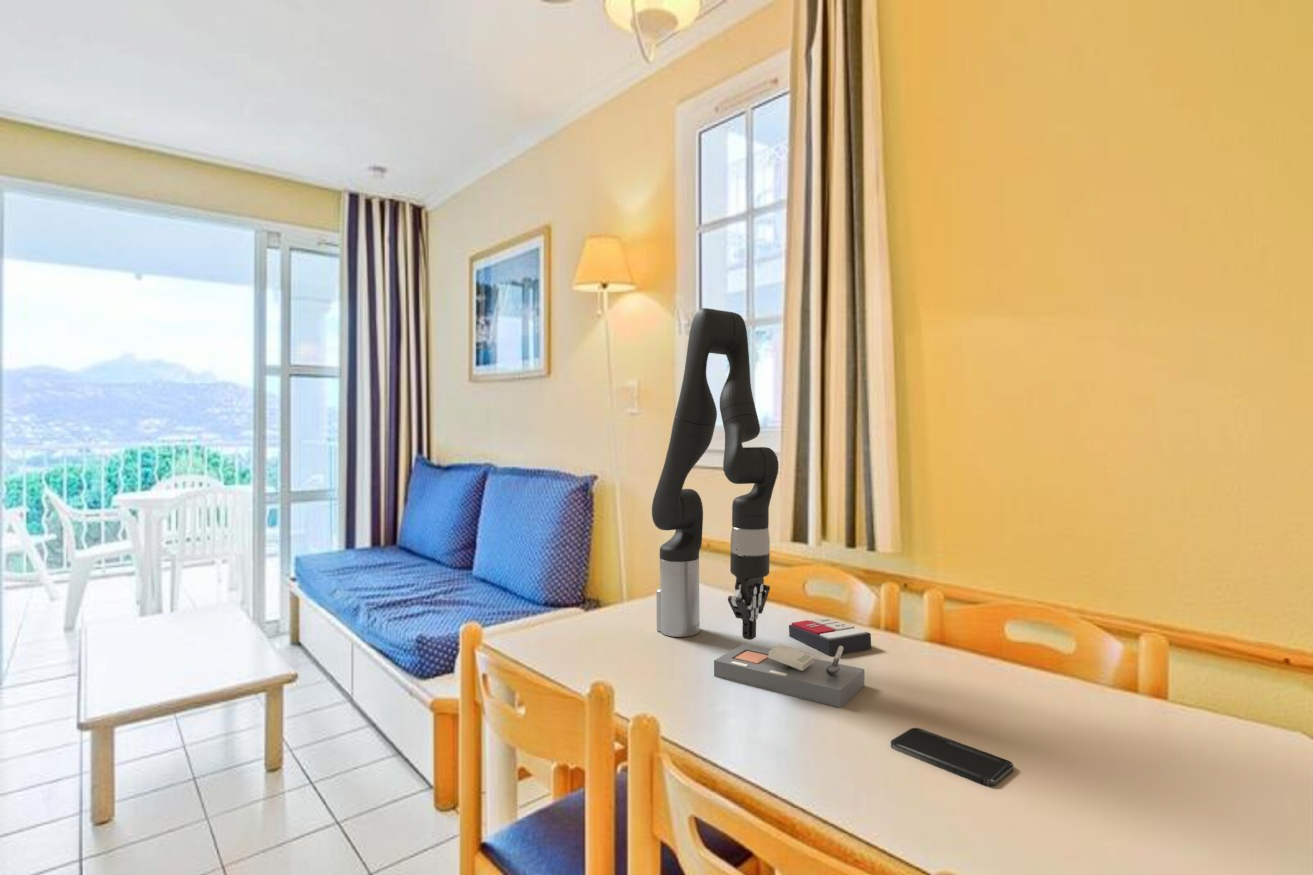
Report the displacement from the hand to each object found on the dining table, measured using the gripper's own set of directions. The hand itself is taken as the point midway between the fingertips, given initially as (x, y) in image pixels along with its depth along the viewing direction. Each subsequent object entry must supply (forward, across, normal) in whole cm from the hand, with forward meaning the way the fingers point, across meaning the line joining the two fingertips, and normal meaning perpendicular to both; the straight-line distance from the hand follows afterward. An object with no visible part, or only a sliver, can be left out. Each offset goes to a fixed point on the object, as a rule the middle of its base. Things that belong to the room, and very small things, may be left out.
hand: (749, 638), depth 129 cm
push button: (+6, 0, +1) cm, 6 cm away
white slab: (+3, 0, +9) cm, 9 cm away
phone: (+6, +12, +40) cm, 42 cm away
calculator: (+7, -26, +6) cm, 27 cm away
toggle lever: (+3, 0, +17) cm, 17 cm away
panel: (+6, 0, +9) cm, 11 cm away
